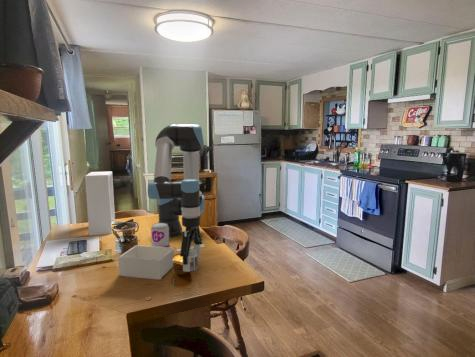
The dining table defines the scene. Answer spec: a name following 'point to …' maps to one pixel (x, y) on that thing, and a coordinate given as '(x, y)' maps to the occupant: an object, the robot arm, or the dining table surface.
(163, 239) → the supplement can
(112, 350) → the dining table surface
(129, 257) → the flap
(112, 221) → the box
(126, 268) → the carton
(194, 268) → the pill bottle
